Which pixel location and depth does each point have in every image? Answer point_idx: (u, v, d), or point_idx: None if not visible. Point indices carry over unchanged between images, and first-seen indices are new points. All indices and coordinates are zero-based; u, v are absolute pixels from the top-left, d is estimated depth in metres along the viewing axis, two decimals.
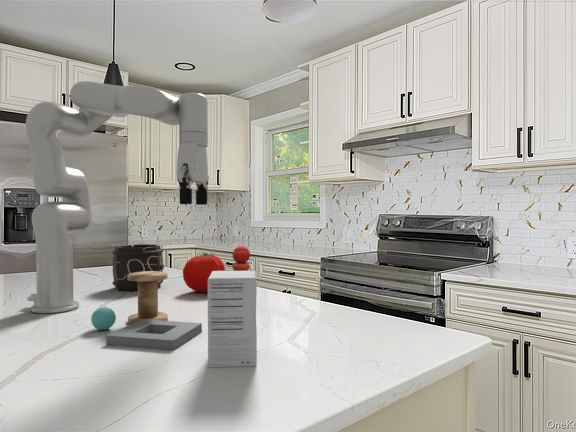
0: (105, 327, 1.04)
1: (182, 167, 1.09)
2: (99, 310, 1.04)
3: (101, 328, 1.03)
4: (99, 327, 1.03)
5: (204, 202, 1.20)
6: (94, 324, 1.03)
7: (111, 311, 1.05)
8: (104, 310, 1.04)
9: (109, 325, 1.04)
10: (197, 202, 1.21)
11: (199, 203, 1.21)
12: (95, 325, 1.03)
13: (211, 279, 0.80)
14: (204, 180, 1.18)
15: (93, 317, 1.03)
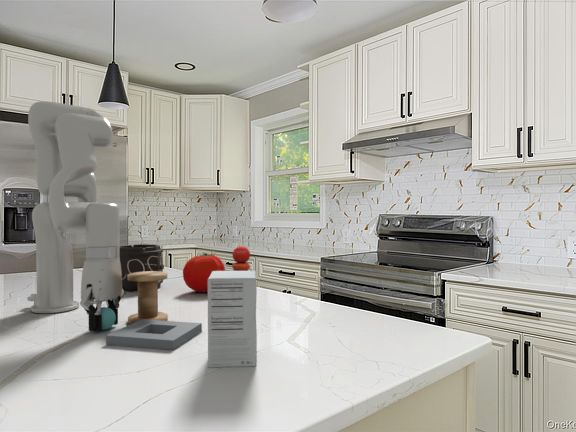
0: (105, 327, 1.04)
1: (86, 294, 0.99)
2: None
3: None
4: None
5: None
6: None
7: (111, 311, 1.05)
8: (104, 310, 1.04)
9: (109, 325, 1.04)
10: None
11: None
12: None
13: (211, 279, 0.80)
14: (116, 295, 1.07)
15: None
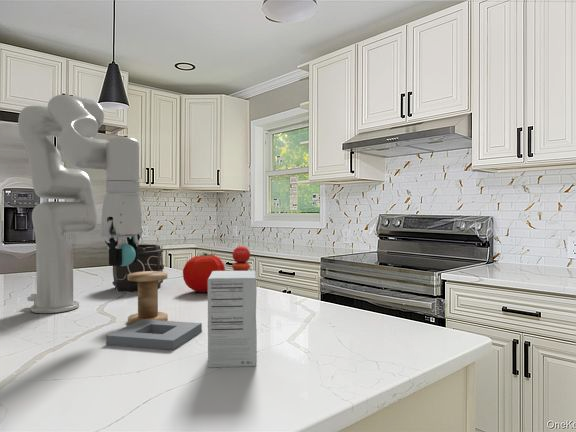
0: (125, 262, 1.03)
1: (107, 227, 0.99)
2: None
3: None
4: None
5: (134, 259, 1.07)
6: None
7: (131, 247, 1.04)
8: (124, 245, 1.03)
9: (129, 260, 1.03)
10: None
11: None
12: None
13: (211, 279, 0.80)
14: (136, 232, 1.06)
15: None
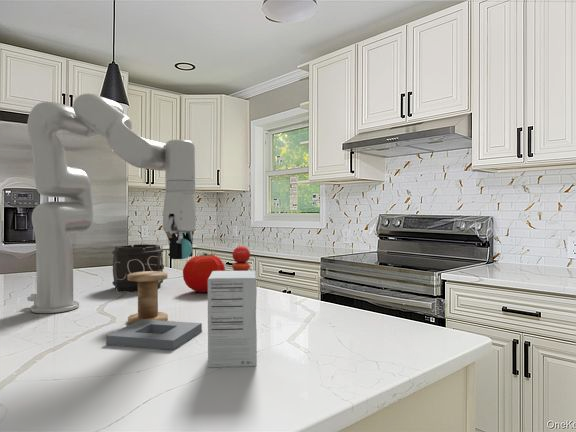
0: (184, 256, 1.11)
1: (169, 223, 1.06)
2: None
3: None
4: None
5: None
6: None
7: (189, 242, 1.12)
8: (183, 240, 1.11)
9: (188, 254, 1.11)
10: None
11: None
12: None
13: (211, 279, 0.80)
14: (192, 228, 1.14)
15: None
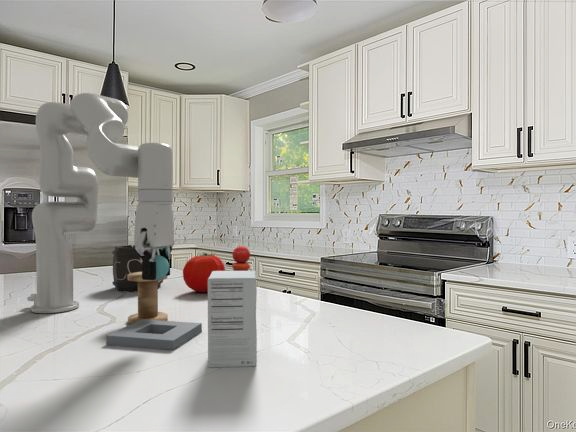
0: (159, 275, 0.97)
1: (141, 238, 0.92)
2: None
3: None
4: None
5: None
6: None
7: (165, 259, 0.98)
8: (158, 257, 0.97)
9: (163, 274, 0.97)
10: None
11: None
12: None
13: (211, 279, 0.80)
14: (169, 243, 1.00)
15: None
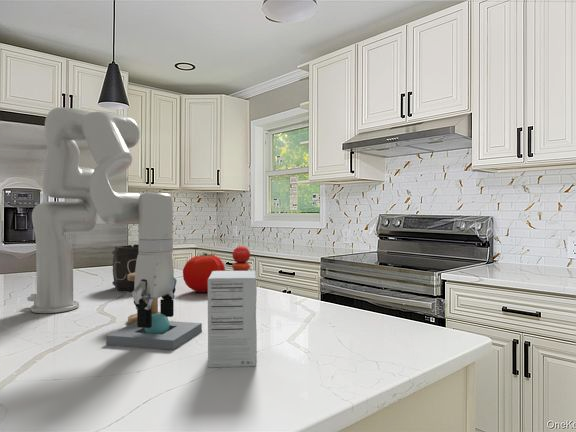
0: None
1: (139, 286, 0.92)
2: (154, 316, 0.98)
3: None
4: None
5: (170, 314, 1.03)
6: (148, 330, 0.97)
7: (166, 318, 0.99)
8: (159, 316, 0.98)
9: (163, 332, 0.98)
10: None
11: None
12: (149, 332, 0.97)
13: (211, 279, 0.80)
14: (169, 291, 1.00)
15: None
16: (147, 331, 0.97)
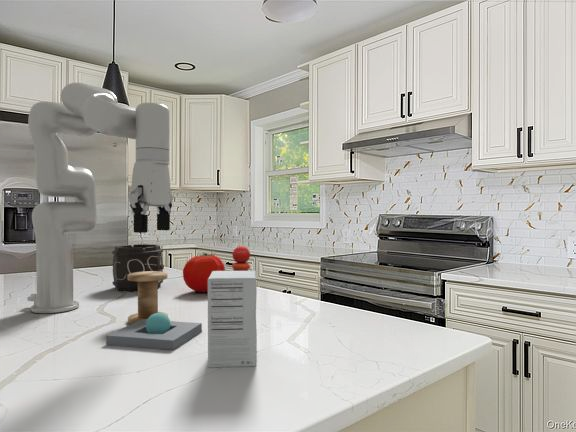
0: (160, 333, 0.97)
1: (136, 190, 0.94)
2: (156, 314, 0.99)
3: (155, 333, 0.97)
4: (154, 332, 0.97)
5: (166, 227, 1.05)
6: (149, 328, 0.97)
7: (167, 317, 1.00)
8: (161, 314, 0.99)
9: (164, 331, 0.98)
10: (158, 227, 1.05)
11: (160, 228, 1.05)
12: (150, 329, 0.97)
13: (211, 279, 0.80)
14: (165, 203, 1.02)
15: (149, 321, 0.98)
16: (148, 329, 0.97)
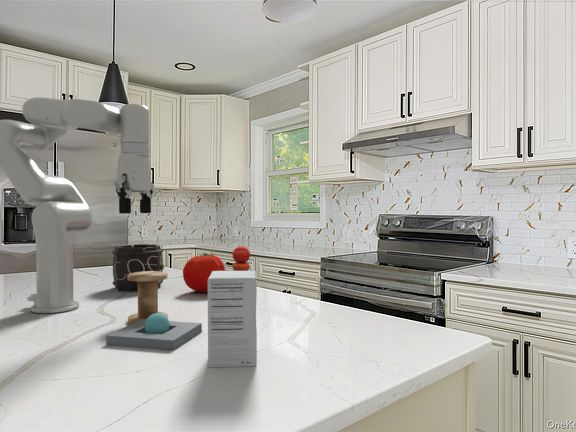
0: None
1: (120, 177, 1.12)
2: (154, 315, 0.98)
3: None
4: None
5: (148, 210, 1.23)
6: (148, 330, 0.97)
7: (166, 318, 0.99)
8: (159, 316, 0.98)
9: (163, 332, 0.98)
10: (141, 211, 1.23)
11: (143, 212, 1.23)
12: (149, 331, 0.97)
13: (211, 279, 0.80)
14: (146, 189, 1.20)
15: (148, 323, 0.97)
16: (147, 331, 0.97)
